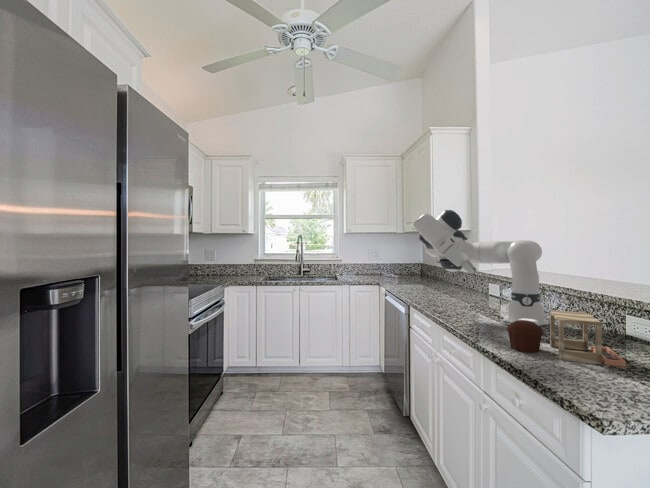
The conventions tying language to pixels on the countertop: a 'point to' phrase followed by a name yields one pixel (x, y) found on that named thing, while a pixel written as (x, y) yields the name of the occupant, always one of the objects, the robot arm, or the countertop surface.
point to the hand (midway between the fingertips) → (474, 272)
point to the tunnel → (576, 344)
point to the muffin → (525, 336)
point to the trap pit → (610, 357)
